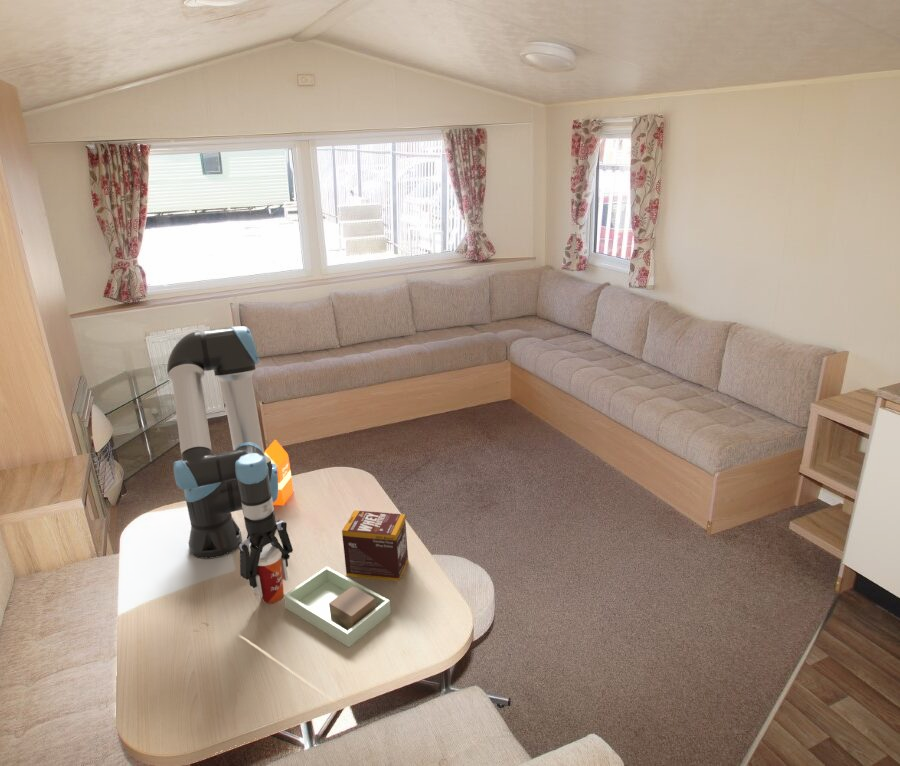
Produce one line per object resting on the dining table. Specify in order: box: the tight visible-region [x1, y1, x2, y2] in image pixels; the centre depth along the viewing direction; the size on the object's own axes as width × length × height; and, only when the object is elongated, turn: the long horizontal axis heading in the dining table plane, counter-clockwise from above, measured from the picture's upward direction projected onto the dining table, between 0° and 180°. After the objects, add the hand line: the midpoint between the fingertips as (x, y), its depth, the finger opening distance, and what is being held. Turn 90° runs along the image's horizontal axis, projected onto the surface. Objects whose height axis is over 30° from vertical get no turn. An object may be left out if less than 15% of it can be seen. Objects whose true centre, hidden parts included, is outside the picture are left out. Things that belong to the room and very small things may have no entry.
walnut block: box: [329, 586, 376, 631], centre depth 166 cm, size 8×8×6 cm
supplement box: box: [341, 510, 409, 582], centre depth 184 cm, size 10×15×16 cm
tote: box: [283, 566, 392, 648], centre depth 170 cm, size 24×15×5 cm, turn 52°
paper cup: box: [257, 544, 284, 604], centre depth 175 cm, size 8×8×14 cm
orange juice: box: [264, 439, 294, 506], centre depth 221 cm, size 8×9×20 cm
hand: (271, 586), depth 176 cm, fingers closed on paper cup, 8 cm apart
